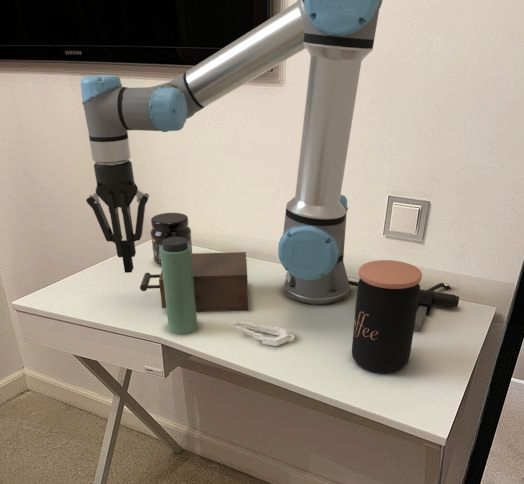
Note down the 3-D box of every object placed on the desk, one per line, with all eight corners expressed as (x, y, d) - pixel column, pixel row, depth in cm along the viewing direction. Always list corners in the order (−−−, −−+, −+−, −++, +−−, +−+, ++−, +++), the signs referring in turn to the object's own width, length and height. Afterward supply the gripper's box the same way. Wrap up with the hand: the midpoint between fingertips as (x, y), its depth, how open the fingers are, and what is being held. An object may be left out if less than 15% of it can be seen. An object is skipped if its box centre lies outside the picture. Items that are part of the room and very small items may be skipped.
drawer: (140, 309, 119) (136, 280, 115) (147, 285, 130) (144, 259, 126) (236, 306, 120) (235, 277, 116) (236, 283, 130) (235, 256, 127)
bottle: (201, 322, 115) (195, 237, 105) (190, 336, 110) (182, 247, 100) (176, 319, 117) (167, 234, 107) (163, 332, 112) (153, 244, 102)
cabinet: (168, 313, 119) (164, 277, 115) (174, 287, 131) (170, 254, 126) (248, 310, 120) (247, 274, 115) (246, 285, 131) (245, 251, 127)
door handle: (450, 326, 107) (461, 291, 119) (353, 309, 114) (372, 277, 126) (448, 340, 109) (458, 304, 121) (352, 323, 116) (371, 290, 128)
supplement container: (167, 252, 151) (163, 210, 145) (200, 257, 148) (197, 214, 141) (146, 265, 143) (140, 221, 137) (180, 271, 139) (176, 226, 133)
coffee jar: (345, 347, 106) (352, 261, 96) (398, 344, 106) (410, 258, 97) (358, 377, 97) (367, 285, 87) (416, 374, 97) (431, 282, 88)
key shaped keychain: (227, 337, 109) (226, 330, 108) (237, 326, 113) (236, 319, 112) (287, 349, 105) (287, 341, 104) (295, 337, 109) (295, 329, 108)
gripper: (147, 156, 112) (160, 263, 124) (84, 158, 112) (103, 264, 124) (142, 164, 106) (156, 275, 118) (75, 166, 105) (96, 277, 117)
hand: (129, 270), depth 121 cm, fingers closed
